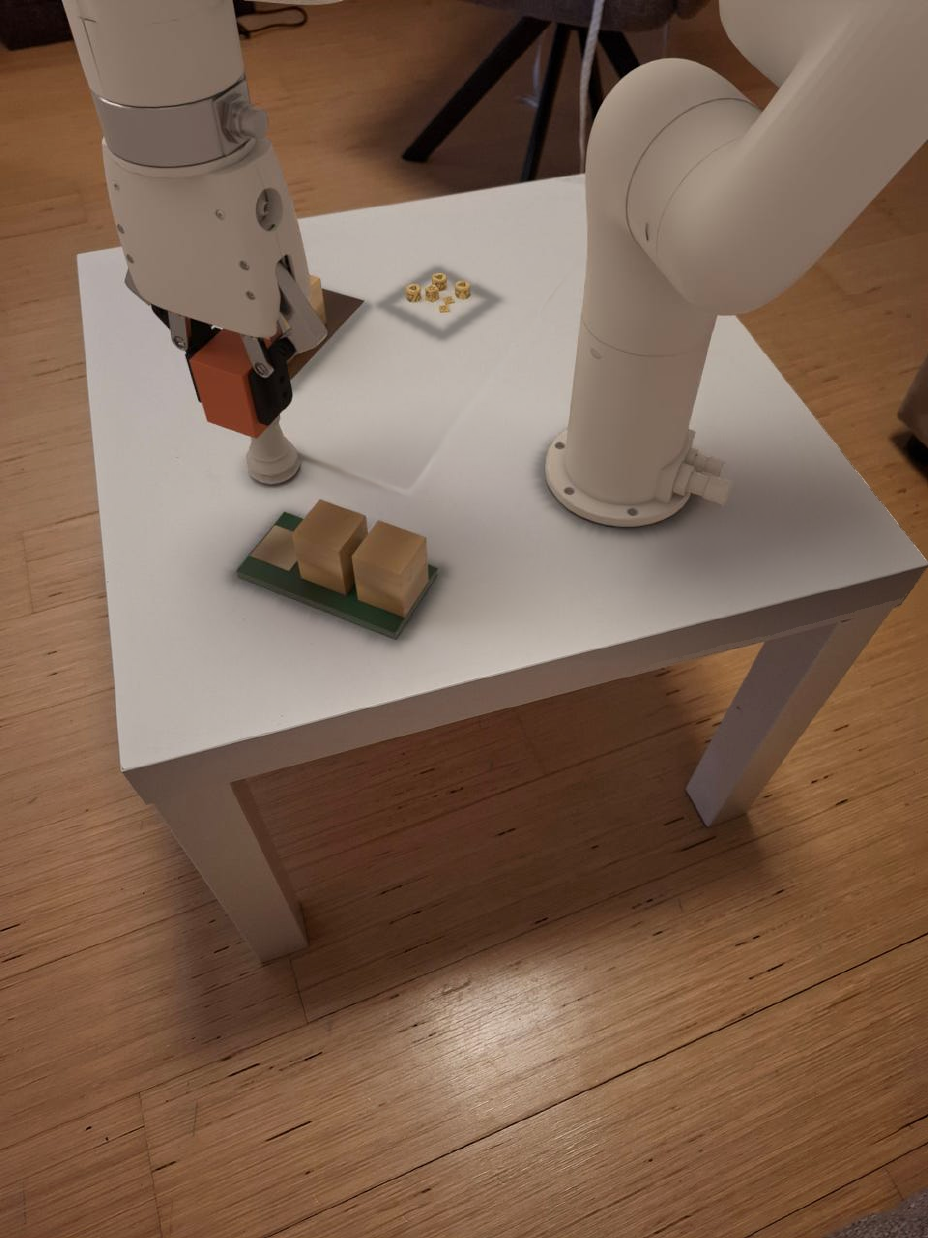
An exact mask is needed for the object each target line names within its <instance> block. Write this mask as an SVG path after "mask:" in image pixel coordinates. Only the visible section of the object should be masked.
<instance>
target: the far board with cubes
mask: <svg viewBox="0 0 928 1238" xmlns="http://www.w3.org/2000/svg"><path fill="white" fill-rule="evenodd" d="M309 276H310V283H311V292H312V295H311V299H310V301H309V303H310V305H311V306H312V308H313V309H314V311H315V312H316V314H317V315H318V317H319V318H320V320H321V321H322V323H323V324H324V326H325V327H326V329H327V332H328V334H327V336H326V337H325V338H324V339H323V340H322V341H321V342H320V343H319V344H318V345H317V346H316V347H315V348H313V349H311V350H308V351H305V352H303V353H300V354H299V353H298V354H295V355H293V356H292V357H291V358H290V359H289V360H287V366H288V371H289V376H290V381H292V380H293V379H294V378H295V377H296V376H297V375H298V374H299V373H300V371H301V370H303V368H304V367H305V366H306V365H307V364H308V363H309V362H310V361H311V359H313V358H314V356H315V355H316V354H317V353H318V352H319V351H320V350H321V349H322V347H324V346H325V344H327V342H329V340H330V339H332V337H333V336H334V335H335V334H336V333H337V332H338V331H339V330H340V328H342V326H344V324H345V323H346V322H347V321H348V319H350V318H351V316H352V315H353V314H354V313H356V311H357V310H358V309H359V308H360V307H361V306H362V305H363V304H364V302H365V300H364V299H361V298H359V297H358V298H357V297H355V296H354V297H353V296H350V295H346V294H344V293H340V292H337V291H333V290H330V289H326V288H323V287H322V281H321V277H320V276H316V275H313V274H309ZM282 316H283V315H282ZM283 319H284V321H285V324H286V327H287V330H288V329H289V328H291V327H290V326H289V324H288V323H287V321H286V320H285V318H284V317H283ZM266 339H269V340H270V338H269V337H267V338H266Z"/></svg>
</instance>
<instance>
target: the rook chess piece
mask: <svg viewBox="0 0 928 1238" xmlns="http://www.w3.org/2000/svg"><path fill="white" fill-rule="evenodd" d="M280 420H281V414H280V415H279V416H278V417H277V418H276V419H275V420H274V421H273V422H272V423H271V424H270V425H269V426H268V428H267V429H266V430H265V431H264V432H263V433H262V434H261V435H260V436H259V437H258V438H257V439H255V438H252V437H250V440H251V442H250V444H249V447H248V450H247V452H246V456H245V457H246V459H245V460H246V465H247V472H248V474H249V475H250V476H251V478H252V479H254V480H256V481H258V482H261V483H262V484H265V485H271V486H272V485H279V484H283V483H285V482H288V481H289V480H290V479H291V478H292V477H293V476H294V475H296V473H297V471H298V470H299V467H300V465H301V462H300V457H299V456H298V452H297V449H296V447H295V446H294V444H293V443H292V442H291V441H290V440H289V439H288V438H287V437H286V436H285V434H284V433H283V432H284V431H283V430H282V427H281V425H280Z"/></svg>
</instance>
